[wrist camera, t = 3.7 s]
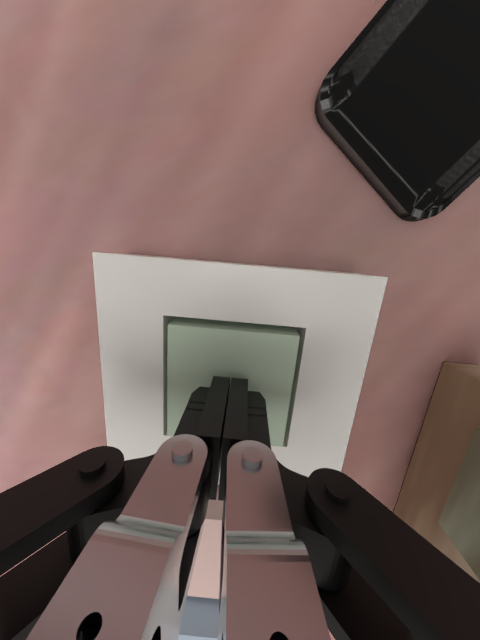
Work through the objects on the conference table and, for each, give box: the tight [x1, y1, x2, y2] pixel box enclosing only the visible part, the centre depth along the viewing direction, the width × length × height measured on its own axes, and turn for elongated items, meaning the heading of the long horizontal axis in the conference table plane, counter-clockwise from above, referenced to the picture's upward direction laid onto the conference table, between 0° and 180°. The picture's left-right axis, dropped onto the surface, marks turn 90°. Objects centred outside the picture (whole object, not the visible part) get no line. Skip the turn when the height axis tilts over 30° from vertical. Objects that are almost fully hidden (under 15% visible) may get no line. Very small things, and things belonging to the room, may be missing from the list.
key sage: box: [167, 317, 300, 446], centre depth 12 cm, size 6×6×3 cm
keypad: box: [92, 252, 388, 485], centre depth 15 cm, size 12×29×3 cm, turn 175°
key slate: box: [178, 596, 219, 640], centre depth 15 cm, size 6×6×3 cm
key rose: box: [187, 485, 224, 599], centre depth 13 cm, size 6×6×3 cm
